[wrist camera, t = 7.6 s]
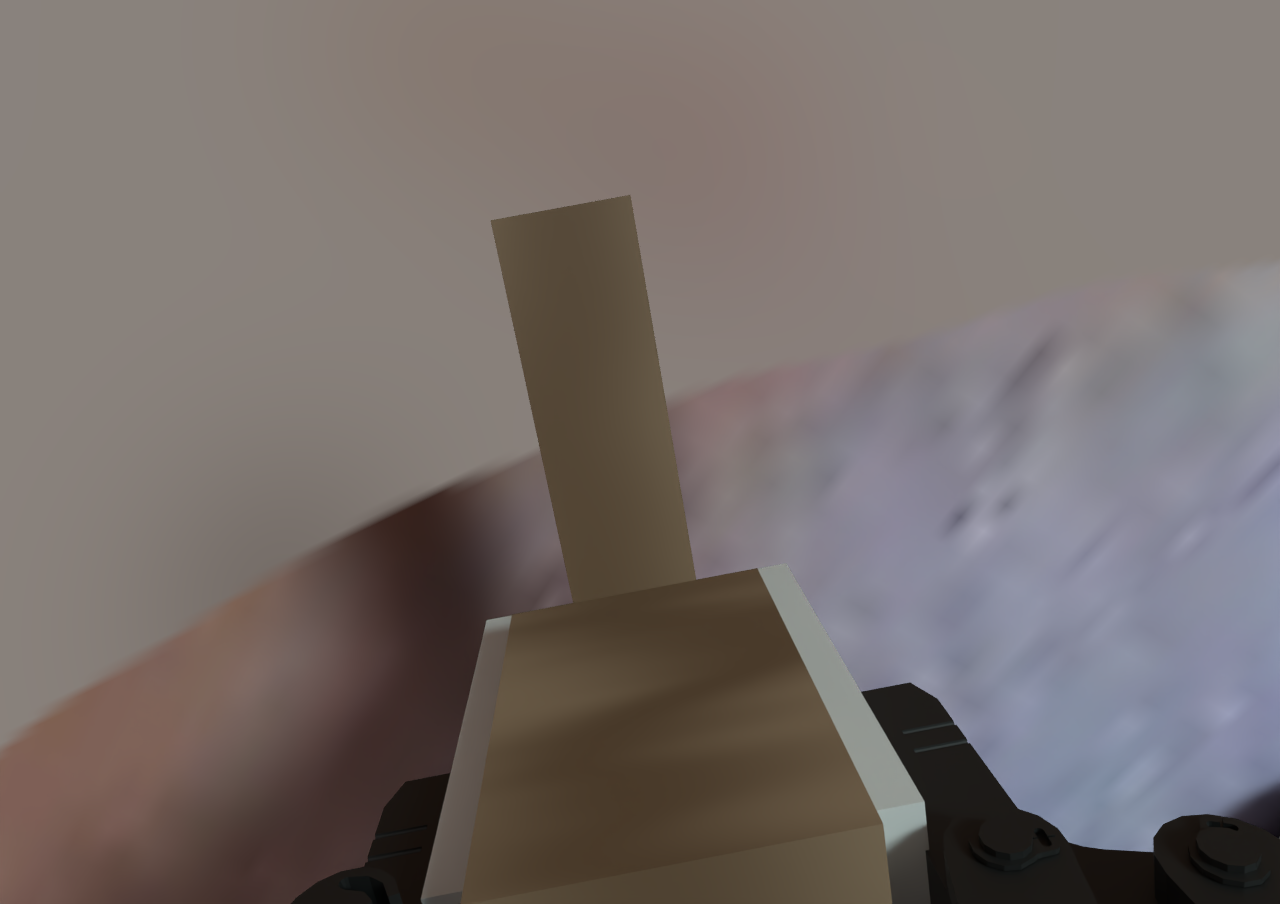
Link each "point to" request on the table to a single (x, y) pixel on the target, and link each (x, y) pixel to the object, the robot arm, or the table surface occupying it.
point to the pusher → (645, 644)
